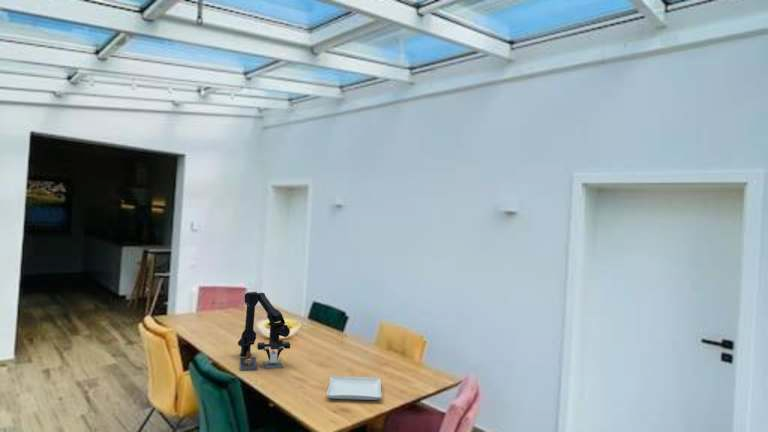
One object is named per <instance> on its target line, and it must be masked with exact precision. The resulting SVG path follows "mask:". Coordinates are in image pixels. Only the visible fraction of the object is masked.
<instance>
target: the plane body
mask: <svg viewBox="0 0 768 432" xmlns="http://www.w3.org/2000/svg"><path fill="white" fill-rule="evenodd" d="M250 352H251V350H250V351H247V356H245V357H240V358H239V369H240V371H241V372H243V371H257V370H258V362H257V357H256V356H254V357H253V356H250Z"/></svg>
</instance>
